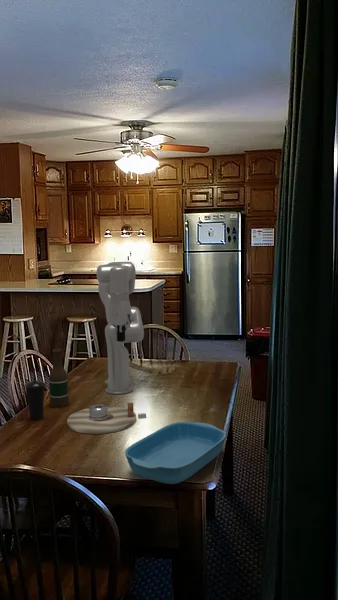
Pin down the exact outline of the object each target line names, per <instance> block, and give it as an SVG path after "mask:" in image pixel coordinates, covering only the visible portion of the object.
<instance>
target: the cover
mask: <svg viewBox="0 0 338 600" xmlns="http://www.w3.org/2000/svg"><path fill="white" fill-rule="evenodd" d="M108 406H109V405H106V404H104V403H103V404H101V403H100V404H98V403H97V404H92V405H90V406H89V407H88V408H89V419H90V420H92V421H102V420H106V419H108V418H109V414H108Z"/></svg>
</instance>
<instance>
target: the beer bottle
mask: <svg viewBox="0 0 338 600" xmlns="http://www.w3.org/2000/svg"><path fill="white" fill-rule="evenodd" d="M62 352H63V351H62V349H61V348H54V349H52V356H53V357H52V369H51V370H50V373H49V376H48V387H49V389H48V390H49V403H50V407H51V408H54V409H62V408H65V407H68V406H69V403H70V402H69V401H70V398H69V397H70V396H69V379H68V373H67V371H66V370H65V369H64V366H63V359H62Z"/></svg>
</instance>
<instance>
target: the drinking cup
mask: <svg viewBox="0 0 338 600" xmlns="http://www.w3.org/2000/svg"><path fill="white" fill-rule="evenodd" d="M32 370H33V380H31V381H29V382H26V383H25V384H24V387H25V391H26V392H25V393H26V397H27V404H28V405H27V406H28V411H29V417H30V420H31V421H37V420H38V421H40V420H42V419H43V418H44V404H45V403H44V402H45V401H44V400H45V385H46V383H45V382H44V381H42V380H36V368H35V367H33V369H32Z"/></svg>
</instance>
